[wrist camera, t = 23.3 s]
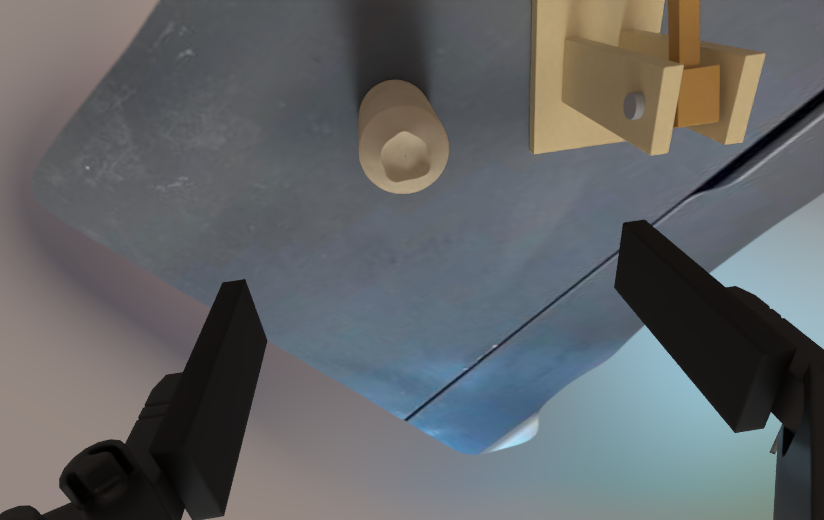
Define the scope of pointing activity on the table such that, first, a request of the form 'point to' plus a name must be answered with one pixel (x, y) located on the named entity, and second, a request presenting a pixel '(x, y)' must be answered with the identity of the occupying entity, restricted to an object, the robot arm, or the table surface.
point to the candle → (400, 138)
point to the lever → (692, 67)
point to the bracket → (622, 78)
